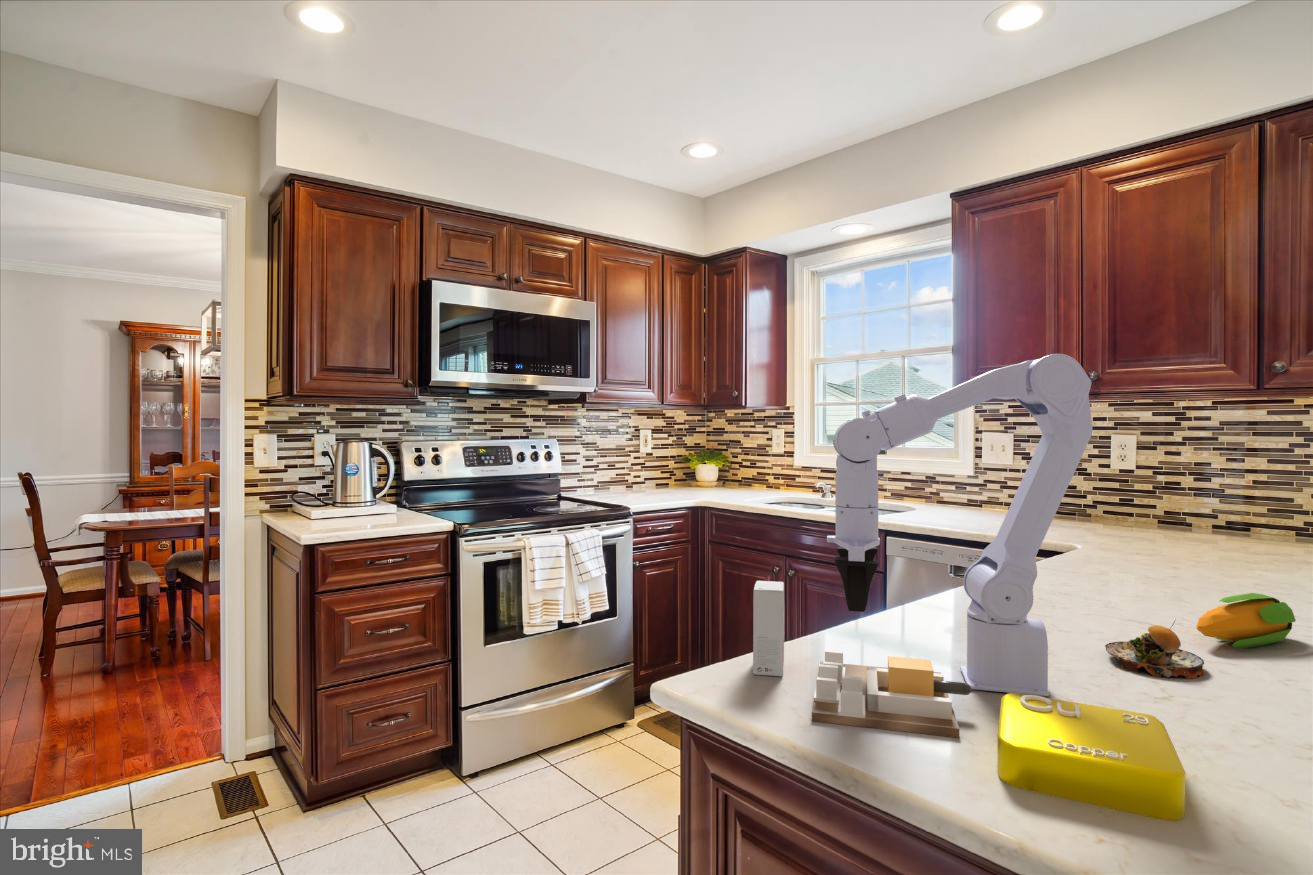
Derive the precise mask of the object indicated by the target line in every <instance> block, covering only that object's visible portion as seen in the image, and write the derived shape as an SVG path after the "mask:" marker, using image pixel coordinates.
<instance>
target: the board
mask: <svg viewBox="0 0 1313 875" xmlns="http://www.w3.org/2000/svg"><path fill="white" fill-rule="evenodd" d="M819 664H823V661H820V663H819ZM843 667H845V676H849V677H859V678H862V695H865V718H857V717H849V716H840V715H838V708H839V704H838V703H829V702H819V701H814V700H813V703H812V709H811V722H819V723H827V724H829V723H830V724H837V725H844V726H852V727H853V726H855V727H863V728H870V729H880V730H886V731H887V730H889V731H896V732H897V731H898V732H904V731H906V732H905V733H907V732H908V733H915V734H924V735H932V736H941V737H947V738H948V737H950V738H958V739H959V738H960V726H959V723H958V720H957V717H956V714H955V710H954V708H953V707H952V720H949V719H940V718H931V717H922V716H912V715H903V714H894V713H885V712H875V711H868V704H867V667H874V668H885V669H888V667H884V666H883V667H882V666H872V665H860V664H850V663H843ZM817 673H818V674H817V677H819V671H818V672H817ZM934 673H940V674H942V672H939V671H938V672H937V671H934ZM841 690H842V686H840V693H841ZM878 691H882V692H888V687H879V686H878ZM934 697H942V698H950V696H949V694H948V693H938V692H934Z"/></svg>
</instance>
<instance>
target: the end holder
mask: <svg viewBox="0 0 1313 875" xmlns="http://www.w3.org/2000/svg"><path fill="white" fill-rule="evenodd" d="M874 667H875V666H874ZM874 667H867V704H868V711H875V712H885V713H894V714H903V715H912V716H922V717H931V718H940V719H949V720H952V708H953V701H952V698H951V697H949V698H942V697H932V696H922V695H912V694H902V693H892V692H882V691H878V686H879V687H888V669H885V668H886V667H885V668H874ZM940 673H941V672H940ZM940 673H934V680H940V681H945V680H944V674H943V673H941V674H940Z"/></svg>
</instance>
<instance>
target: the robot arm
mask: <svg viewBox="0 0 1313 875" xmlns="http://www.w3.org/2000/svg"><path fill="white" fill-rule="evenodd" d="M1091 386H1092V380H1091V378H1090V377H1089V376H1088V374H1087V373H1086V370H1084V368H1083V367H1082V365H1081V364H1080V362H1079V361H1077V360H1076V359H1075V358H1074V357H1072V356H1070V355H1067V354H1064V353H1052V354H1048V355H1045V356H1043V357H1041V358H1037V359H1029V360H1025V361H1023V362H1020V363H1017V364H1016V363H1015V364H1012V365H1008V366H1003V367H1000V368H995V369H992V370H989V371H987V372H984V373H982V374H979V375H978V376H976V377H973V378H971V379H969V380H966V381H964V382H962V383H960V384H958V385H955V386H954V387H951V388H948V389H946V390H944V391H942V392H940V393H938V394H935V395H932V396H931V397H928V398H925V397H922V396H920V395H917V394H914V393H913V394H911V395H908V396H906V394H905V393H902V394H900V395H897V396H895V397H894V398H893V399H894V402H892V403H889V404H886V405H884V406H882V407H880V408H878V409H874V410H872V411H871V410H870V409H866V410H864V411H862V412H861V415H862V417H855V418H852V419H850V420H848V421H845V422H843V423H842V424H840V425H839V427H838V428H837V429H836V431H835V434H834V437H833V439H832V444H833V447H834V450H835V452H836V453H837V456H836V461H835V467H836V472H835V474H834V475H835V477H834V478H835V480H834V481H835V491H834V492H835V496H834V497H835V499H834V500H835V502H834V504H835V535H827V536H826V542H827V543H832V544H833V543H834V544H836V545H837V547H836V551H837V553H838V555H839V556H834V564H835V566H836V568H837V569H838V570H837V571H838V572H839V574H840V577H841V580H842V581H841V582H842V584H843V589H844V595H845V596H844V597H845V601H846V606H847V609H848V612H858V613H859V612H860V613H861V612H862V613H865V612H866V608H867V604H868V600H869V592H870V587H871V584H872V580H873V577H874V576H875V572H876V571H877V570H878V567H879V565H880V561H879V560H874V559H875V557H876V555H877V553H878V547H877V546H880V545H881V538H880V537H879V473H878V455H879V454H880V452H881V451H882V449H883V450H884V451H889V450H891V449H894V448H896V447H899V446H901V445H903V444H906V443H909V442H911V441H914V440H917V439H918V438H921V437H923V436H926V435H929V434H931V433H932V431H934V430H933V429H934V427H935V424H936V422H937V421H938V420H939V419H942V418H945V417H948V416H950V415H953V414H955V413H958V412H962V411H964V410H967V409H969V408H972V407H974V406H976V405H980V404H982V403H986V402H988V401H990V400H993V399H996V400H997V399H998V400H1004V401H1005V400H1013V399H1014V400H1015V401H1016V402H1017V403H1018V404H1020V405H1021V406H1022V407H1023V408H1025V410H1026V411H1027V412H1029V413H1030V414H1031V416H1032V417H1033V419H1034V421H1035V422H1036V424H1037V426H1038V427H1039V428H1038V429H1040V431H1041V437H1040V439H1039V442H1038V444H1037V446H1036V448H1035V451H1034V453H1033V455H1032V456H1031V459H1030V461H1029V464H1028V466H1027V468H1026V470H1025V472H1024V474H1023V476H1022V479H1021V481H1020V483H1019V486H1018V488H1017V490H1016V492H1015V494H1014V497H1013V499H1012V501H1011V503H1010V506H1009V507H1008V510H1007V512H1006V515H1005V517H1004V518H1003V521H1002V523H1001V525H1000V528H999V530H998V531H997V534H996V536H995V538H994V540H992V542H990V543H989V544H988V545H987V546H986V547H985V548H984V549H983V550H982V553H981V555H980V556H979V558H978V560H977V561H975V562H974V563H972V564H971V565H970V566H969V567H968V568H967V569H966V571H965V573H964V575H963V578H962V579H963V580H962V583H963V590H964V592H965V593H966V595H967V596H968V597H969V598H970V600H971V602H970V604H969V606H968V607H967V609H966V665H960V666H959V668H960V671H961V674H962V676H963V679H964V680H965V683H967V684H969V685H970V687H971V690H976V691H978V690H979V691H989V692H1000V693H1007V694H1008V693H1019V694H1025V695H1036V696H1042V697H1049V696H1050V692H1049V690H1048V688H1049V686H1048V685H1049V681H1048V680H1049V675H1048V674H1049V672H1048V671H1049V669H1048V668H1049V661H1048V660H1049V657H1048V656H1049V645H1048V642H1049V641H1048V635H1047V629H1046V626H1045V623H1044V622H1043V621H1042V620H1041V619H1038V618H1037V619H1035V618H1029V617H1028V614H1029V613H1030V611H1031V610H1032V609H1033V608H1032V607H1033V604H1034V585H1035V581H1036V580H1037V577H1038V570H1037V560H1036V559H1037V558H1036V557H1037V554H1038V552H1039V550H1040V548H1041V546H1042V544H1043V541H1044V540H1045V538H1046V536H1047V534H1048V531H1049V529H1050V526H1051V524H1052V522H1053V520H1054V518H1055V515H1056V514H1057V512H1058V509H1059V507H1060V505H1061V502H1062V500H1063V498H1064V497H1065V494H1066V492H1067V489H1068V487H1069V485H1070V483H1071V481H1072V479H1073V477H1074V474H1075V473H1076V470H1077V468H1078V466H1079V463H1080V461H1081V460H1082V457H1083V455H1084V453H1085V451H1086V449H1087V446H1088V444H1089V442H1090V441H1091V440H1090V439H1091V438H1092V434H1093V431H1094V430H1093V421H1092V420H1093V419H1092V414H1091V412H1092V411H1091V406H1090V405H1091V403H1090V396H1089V395H1090V390H1091Z"/></svg>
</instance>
